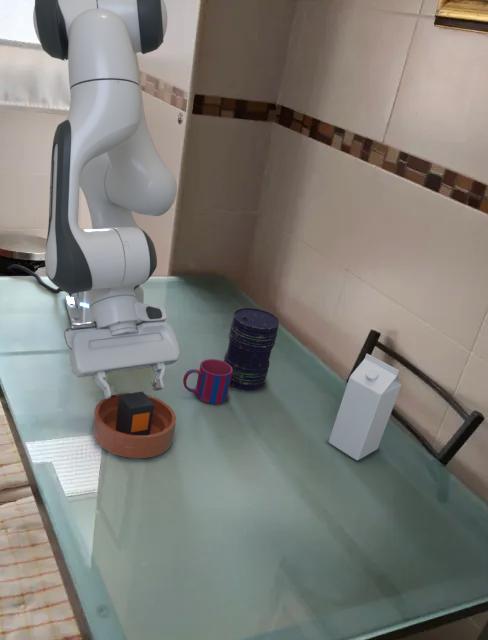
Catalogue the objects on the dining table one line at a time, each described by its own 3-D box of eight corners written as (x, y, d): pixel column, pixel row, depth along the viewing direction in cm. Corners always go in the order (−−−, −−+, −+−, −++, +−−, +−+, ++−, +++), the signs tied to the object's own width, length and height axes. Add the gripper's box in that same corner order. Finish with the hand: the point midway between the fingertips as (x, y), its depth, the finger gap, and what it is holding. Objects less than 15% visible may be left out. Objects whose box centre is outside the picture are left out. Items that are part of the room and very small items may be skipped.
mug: (230, 404, 134) (236, 375, 130) (183, 404, 131) (188, 374, 127) (222, 387, 139) (227, 359, 136) (176, 386, 136) (181, 358, 133)
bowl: (81, 420, 120) (83, 397, 118) (152, 410, 127) (155, 388, 125) (109, 467, 110) (112, 443, 108) (185, 453, 117) (189, 430, 115)
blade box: (115, 429, 119) (119, 394, 115) (138, 425, 121) (142, 391, 117) (126, 444, 116) (130, 408, 112) (149, 439, 118) (154, 404, 114)
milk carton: (348, 432, 133) (376, 349, 123) (377, 450, 129) (409, 366, 119) (327, 442, 128) (355, 357, 118) (357, 461, 124) (388, 375, 114)
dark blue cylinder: (252, 367, 149) (266, 307, 141) (272, 390, 142) (288, 327, 134) (213, 369, 145) (225, 308, 137) (231, 393, 138) (245, 329, 130)
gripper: (66, 319, 110) (85, 398, 109) (173, 308, 120) (192, 381, 119) (56, 331, 115) (74, 406, 114) (159, 320, 125) (177, 389, 124)
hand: (135, 393), depth 116 cm, fingers open, 8 cm apart
